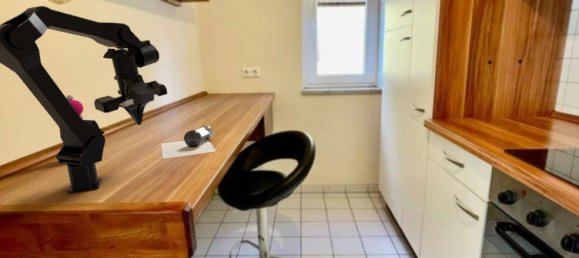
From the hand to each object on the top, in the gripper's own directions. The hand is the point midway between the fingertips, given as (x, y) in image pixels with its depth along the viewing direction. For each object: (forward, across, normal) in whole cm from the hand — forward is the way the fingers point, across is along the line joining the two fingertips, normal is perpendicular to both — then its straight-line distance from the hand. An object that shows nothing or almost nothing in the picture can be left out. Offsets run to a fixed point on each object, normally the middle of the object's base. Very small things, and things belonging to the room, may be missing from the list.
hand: (139, 124), depth 97 cm
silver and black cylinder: (+10, +15, -3) cm, 18 cm away
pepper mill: (+13, -11, +20) cm, 26 cm away
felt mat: (+14, +14, -1) cm, 19 cm away
